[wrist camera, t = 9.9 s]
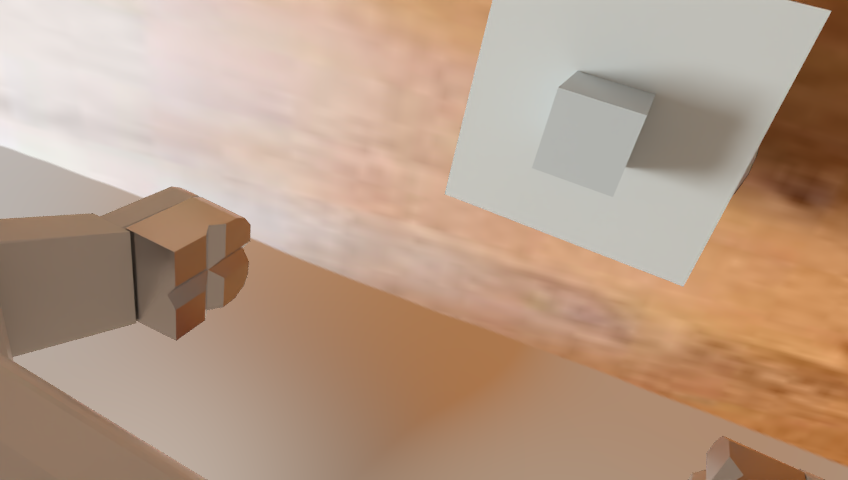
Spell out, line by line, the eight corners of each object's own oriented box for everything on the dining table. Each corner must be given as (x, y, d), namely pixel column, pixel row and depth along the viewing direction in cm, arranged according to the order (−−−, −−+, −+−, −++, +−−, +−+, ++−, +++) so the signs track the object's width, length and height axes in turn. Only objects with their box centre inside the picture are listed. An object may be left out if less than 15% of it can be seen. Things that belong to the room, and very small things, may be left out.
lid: (827, 9, 19) (854, 20, 15) (684, 277, 25) (679, 331, 21) (515, -68, 22) (478, -73, 18) (450, 188, 27) (412, 222, 24)
